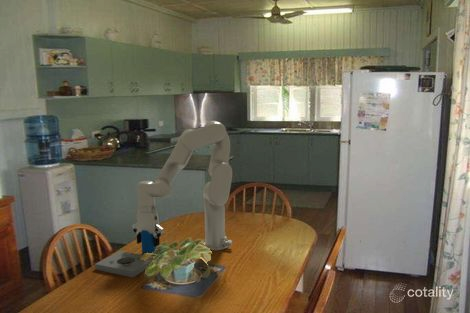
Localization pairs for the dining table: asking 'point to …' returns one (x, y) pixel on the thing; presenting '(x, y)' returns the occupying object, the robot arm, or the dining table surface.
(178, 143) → the robot arm
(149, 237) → the beverage can
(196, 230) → the dining table surface
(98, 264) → the socket board
